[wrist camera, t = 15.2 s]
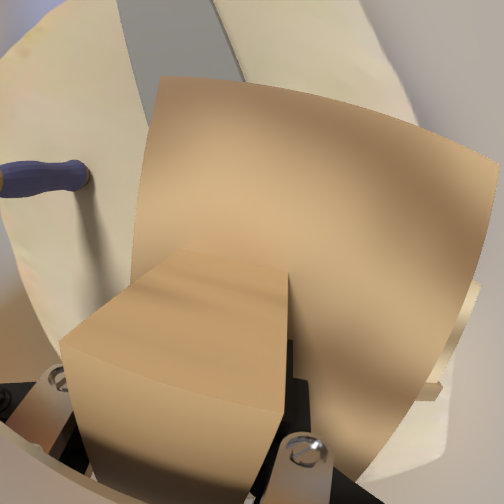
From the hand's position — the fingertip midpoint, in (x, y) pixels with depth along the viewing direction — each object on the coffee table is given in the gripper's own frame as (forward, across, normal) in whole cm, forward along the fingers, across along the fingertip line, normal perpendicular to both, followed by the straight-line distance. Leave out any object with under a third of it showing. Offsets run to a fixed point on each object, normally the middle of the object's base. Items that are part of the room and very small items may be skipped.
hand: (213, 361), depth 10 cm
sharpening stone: (+24, +12, -21) cm, 34 cm away
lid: (+2, -2, 0) cm, 3 cm away
